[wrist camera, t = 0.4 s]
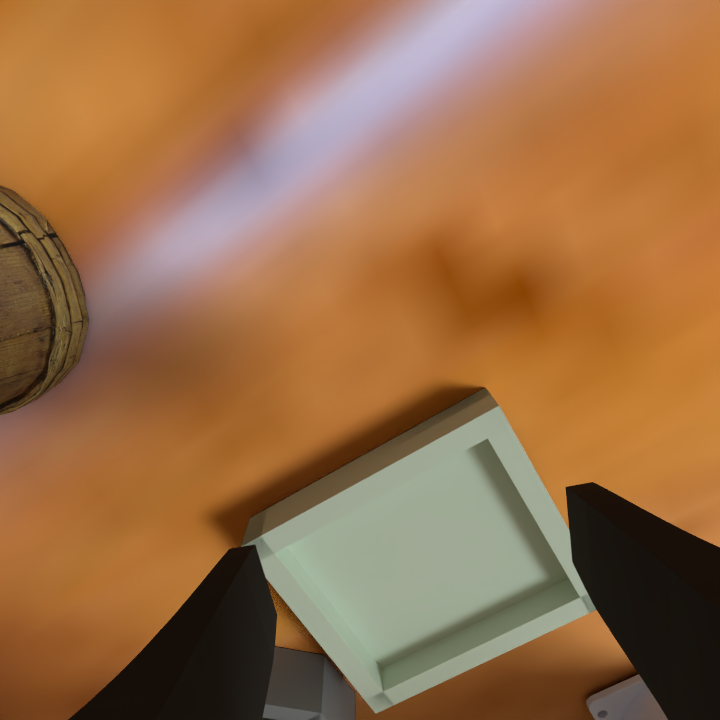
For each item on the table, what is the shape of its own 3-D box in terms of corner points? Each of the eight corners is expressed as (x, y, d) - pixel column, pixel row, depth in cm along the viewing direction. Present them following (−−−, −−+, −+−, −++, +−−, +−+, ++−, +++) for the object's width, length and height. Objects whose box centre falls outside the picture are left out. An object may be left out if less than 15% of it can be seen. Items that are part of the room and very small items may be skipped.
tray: (589, 571, 24) (610, 603, 22) (373, 676, 26) (375, 713, 24) (485, 387, 21) (499, 405, 19) (249, 518, 23) (240, 546, 21)
